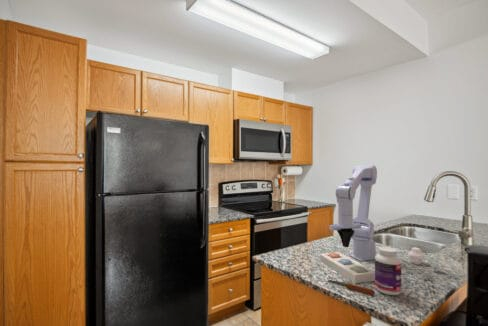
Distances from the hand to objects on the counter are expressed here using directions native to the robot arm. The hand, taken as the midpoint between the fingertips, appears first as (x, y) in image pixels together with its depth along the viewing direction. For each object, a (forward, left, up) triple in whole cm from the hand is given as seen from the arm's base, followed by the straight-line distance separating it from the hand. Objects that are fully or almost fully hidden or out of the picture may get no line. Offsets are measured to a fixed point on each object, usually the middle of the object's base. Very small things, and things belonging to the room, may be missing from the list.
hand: (345, 246), depth 108 cm
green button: (0, +8, -8) cm, 12 cm away
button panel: (0, 0, -9) cm, 9 cm away
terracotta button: (0, -8, -8) cm, 11 cm away
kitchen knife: (+10, +16, -10) cm, 21 cm away
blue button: (0, 0, -8) cm, 8 cm away
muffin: (-35, +2, -10) cm, 36 cm away
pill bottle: (-2, +20, -10) cm, 22 cm away
